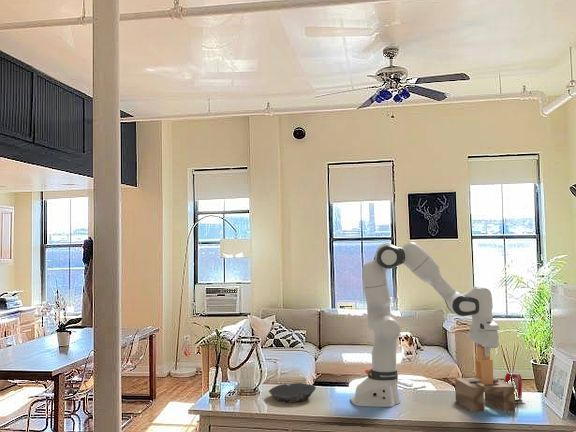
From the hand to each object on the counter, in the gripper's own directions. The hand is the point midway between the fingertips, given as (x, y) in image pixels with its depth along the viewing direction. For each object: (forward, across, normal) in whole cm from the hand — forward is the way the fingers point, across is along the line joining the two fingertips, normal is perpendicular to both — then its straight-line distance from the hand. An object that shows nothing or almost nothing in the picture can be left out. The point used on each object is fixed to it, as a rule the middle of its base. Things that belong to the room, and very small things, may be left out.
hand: (483, 354), depth 241 cm
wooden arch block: (+22, 0, 0) cm, 22 cm away
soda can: (+22, -7, +18) cm, 29 cm away
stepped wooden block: (+12, 0, 0) cm, 12 cm away
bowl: (+22, -22, -83) cm, 89 cm away
